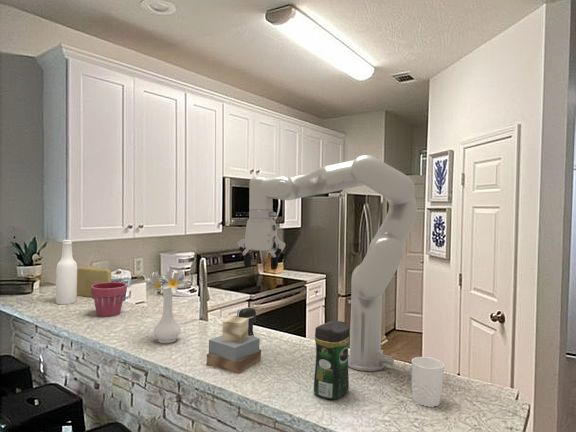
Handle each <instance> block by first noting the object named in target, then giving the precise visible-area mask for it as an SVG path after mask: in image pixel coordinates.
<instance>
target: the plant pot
mask: <svg viewBox="0 0 576 432" xmlns="http://www.w3.org/2000/svg"><path fill="white" fill-rule="evenodd" d="M127 292H128V289H127V283H125V282H121V281H120V282H119V281H111V282H103V283H97V284H94V285H92V286H91V295H92V296H93V297H94V298H93V302H94V303H93V304H94V307H95V310H96V315H97V317H102V318H110V317H115V316H118V315H120V314H121V310H122V306H123V303H124V298H125V294H127Z"/></svg>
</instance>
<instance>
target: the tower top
mask: <svg viewBox="0 0 576 432" xmlns="http://www.w3.org/2000/svg"><path fill="white" fill-rule="evenodd" d="M260 344H261V343H260V338H259V337H255V336H254V337H252V336H248V338H247V339H245V340H244V341H243V342H242V343H235V342H227V341H223V334H222V335H219V336H216V337H214V338H210V339H208V353H211V354H214V355H217V356H220V357H223V358H226V359H229V360H232V361H237V360H240V359H242V358H245V357H247V356H249V355H252V354H254V353H256V352H259V349H260Z"/></svg>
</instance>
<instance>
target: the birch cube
mask: <svg viewBox="0 0 576 432" xmlns="http://www.w3.org/2000/svg"><path fill="white" fill-rule="evenodd" d="M248 319H249V318H242V317H237V316H229V317H228V318H226V319H225V320H223V321H222V335H223V341H227V342H235V343H242V342H243V341H244V340H245V339H247V338H248Z"/></svg>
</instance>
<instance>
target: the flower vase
mask: <svg viewBox="0 0 576 432" xmlns="http://www.w3.org/2000/svg"><path fill="white" fill-rule="evenodd" d="M185 277H186V276H185V274H184V273H181V272H180V270H177V272H176V273H175V274H174V275H173V272H172V271H171V270H168V271H167V272H166V274H164V275H160V274H159V271H158V270H157V271H154V272H152V274H151V277H148V278H145V279H144V282H145V283H146V284H147V285H146V286H148V287H147V288H146V290H147V291H148V293H152V292H153V297H156V296H158V295H157V294H158V292H161V291H162V294H163V305H162V306H163V307H162V314H161V315H162V316H161V319H160V320H159V322H158V323H157V325H155V327H154V328H153V335H154V337H155V338H156V339H157V341H158V343H161V344H171V343H174V342H176V341H177V337H179V336H180V335H181V332H182V329H181V327H180V325H179V324H178V323H177V321H176V320H175V318H174V313H173V297H174V295H175V294H177V292H178V287H184V289H186V290H188V288H189V286H190V285H189V283H187V281H185Z"/></svg>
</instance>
